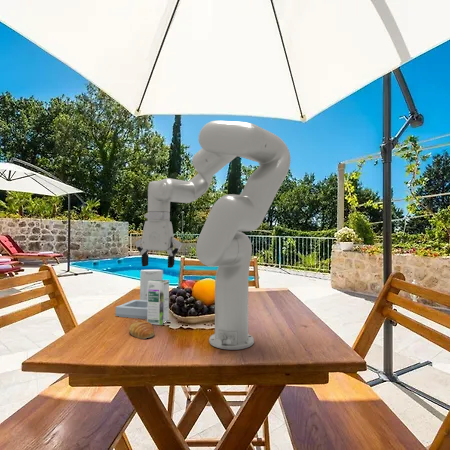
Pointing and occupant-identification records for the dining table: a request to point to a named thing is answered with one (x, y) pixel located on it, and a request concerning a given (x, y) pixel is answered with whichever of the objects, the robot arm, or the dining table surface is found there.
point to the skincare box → (147, 276)
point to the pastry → (141, 329)
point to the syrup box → (158, 301)
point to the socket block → (132, 309)
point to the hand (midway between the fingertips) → (157, 266)
